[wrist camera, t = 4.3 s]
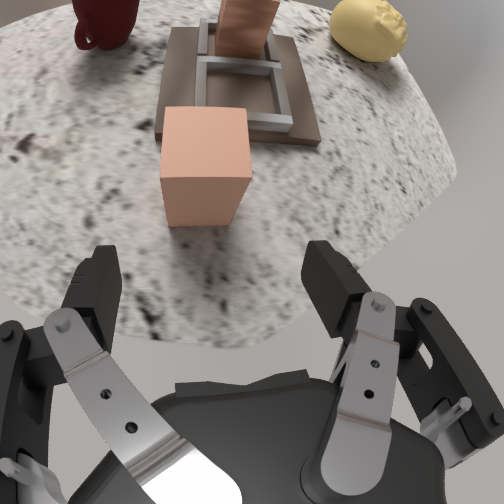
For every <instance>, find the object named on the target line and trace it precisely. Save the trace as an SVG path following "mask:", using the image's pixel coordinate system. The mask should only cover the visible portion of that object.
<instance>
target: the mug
mask: <svg viewBox="0 0 504 504" xmlns="http://www.w3.org/2000/svg"><path fill="white" fill-rule="evenodd" d="M139 1H140V0H72V3H73V8H74V12H75V14H76V16H77V19H78V23H77V25H76V29H75V36H74V38H75V43H76V46H77V47H78V48H79V49H81V50H90V49H93V48H94V47H96V46H97V47H98V48H100V49H102V50H109V49H114V48H117V47H119V46H121V45H122V44H124V43H125V42H126V40H127V39H128V37H129V35H130V33H131V31H132V29H133V27H134V25H135V22H136V17H137V12H138V6H139ZM86 37H87V38H88V39H89V40H90V41H91V42H90V43H87V39H86Z"/></svg>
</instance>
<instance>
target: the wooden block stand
mask: <svg viewBox="0 0 504 504" xmlns="http://www.w3.org/2000/svg"><path fill="white" fill-rule="evenodd" d="M279 4H280V0H222V2H221V7H220V11H219V16H218V19H200V25H199V27H172V29H171V33H170V38H169V43H168V48H167V53H166V58H165V63H164V69H163V75H162V81H161V87H160V94H159V101H158V108H157V116H156V124H155V140H162V138H163V127H164V117H165V107H178V106H198V107H230V108H246V114H247V125H248V136H249V141H261V142H275V143H287V144H297V145H307V146H316V147H317V145H318V144H319V143H320V142H321V137H320V133H319V128H318V124H317V120H316V116H315V112H314V108H313V104H312V100H311V96H310V93H309V89H308V85H307V82H306V78H305V75H304V71H303V68H302V64H301V61H300V58H299V54H298V51H297V48H296V45H295V42H294V39H293V38H292V37H287V36H281V35H275V34H273V31H272V27H271V25H272V22H273V20H274V17H275V15H276V12H277V9H278V7H279Z"/></svg>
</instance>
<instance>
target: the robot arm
mask: <svg viewBox="0 0 504 504" xmlns="http://www.w3.org/2000/svg"><path fill="white" fill-rule="evenodd" d="M301 280H302V283H303V285H304V287H305V289H306V291H307V293H308V295H309V297H310V299H311V301H312V302H313V304H314V306H315V308H316V310H317V312H318V314H319V316H320V318H321V320H322V322H323V323H324V326H325V328H326V329H327V331H328V333H329V335H330V337H331V338H337V337H342V338H343V342H342V344H341V346H340V350H339V353H338V356H337V359H336V362H335V365H334V368H333V371H332V374H331V377H330V380H329V382H328V381H325V380H321V379H315V378H309V375H308V373H307V370H306V369H304V370H298V371H292V372H286V373H279V374H275V375H273V376H270V377H267V378H265V379H262V380H259V381H257V382H254V383H251V384H248V385H233V384H224V383H216V382H210V381H206V382H189V383H175V390H176V392H175V393H172V394H168V395H166V396H164V397H161V398H159V399H158V400H156V401H154V402H153V403H151V404H149V403H148V402H147V400H146V399H145V398H144V397H143V396H142V395H141V393H140V392H139V391H138V390H137V389H136V387H135V386H134V385H133V384H132V383H131V381H130V380H129V379H128V378H127V376H126V375H125V374H124V373H123V371H122V370H121V369H120V368H119V366H118V365H117V364H116V362H115V361H114V360H113V358H112V357H111V356H110V354H111V349H112V342H113V336H114V329H115V323H116V318H117V312H118V307H119V302H120V296H121V291H122V278H121V273H120V267H119V262H118V257H117V251H116V247H115V245H99V246H96V248H95V250H94V253H93V255H92V258H85V259H84V260H83V261H82V262H81V263H80V264H79V265H78V266H77V269H76V271H75V273H74V277H73V278H72V280H71V284H70V285H69V288H68V290H67V293H66V295H65V298H64V300H63V303H62V306H61V308H60V309H58V310H55V311H54V312H52V313H51V314H50V315H49V316H48V317H47V318H46V320H45V322H44V325H43V326H41V327H37V328H33V329H29V330H24V328H23V327H22V325H21V324H20V323H19V322H18V321H14V320H10V321H7V322H4V323H2V324H1V325H0V504H447V503H446V497H445V482H444V480H445V470H446V469H450V468H453V467H455V466H456V465H458V464H459V463H462V462H463V461H465V460H467V459H468V458H470V457H471V456H473V455H474V454H476V453H477V452H479V451H480V450H482V449H484V448H485V447H486V446H488V445H489V444H491V443H492V442H494V441H495V440H496V439H498V438H499V437H500V436H502V435H503V434H504V409H503V407H502V405H501V403H500V401H499V399H498V398H497V396H496V394H495V392H494V391H493V389H492V387H491V386H490V384H489V382H488V381H487V379H486V377H485V376H484V374H483V372H482V371H481V369H480V368H479V366H478V365H477V363H476V361H475V360H474V359H473V357H472V355H471V354H470V352H469V351H468V349H467V348H466V346H465V345H464V343H463V342H462V341H461V339H460V338H459V336H458V335H457V334H456V332H455V331H454V329H453V328H452V326H450V324H449V322H448V321H447V320H446V318H445V317H444V316H443V314H442V313H441V312H440V310H439V309H438V308H437V306H436V305H435V304H433V303H432V302H431V301H429V300H427V299H424V298H416V299H414V300H413V301H412V303H411V305H410V307H401V306H395V304H394V302H393V301H392V300H391V299H390V298H389V297H388V296H386V295H385V294H382V293H380V292H374V291H372V290H371V289H370V288H369V286H368V285H367V284H366V282H365V281H364V280H363V278H362V277H361V276H360V274H359V273H357V270H356V269H355V268H354V267H352V264H351V263H350V261H349V260H348V259H347V258H346V257H345V256H343V255H342V254H341V253H339V252H338V251H335V250H334V249H333V247H332V246H331V245H330V243H329V242H328V241H326V240H320V241H309V243H308V245H307V249H306V253H305V257H304V261H303V265H302V270H301ZM423 343H424V344H425V346H426V348H427V349H428V351H429V352H430V354H431V356H432V359H433V365H432V367H431V369H429V367H428V366H427V364H426V362H425V361H424V359H423V357H422V356H421V354H420V352H419V351H418V350H419V348H420V347H421V345H422V344H423ZM397 376H398V379H399V381H400V383H401V385H402V387H403V388H404V391H405V393H406V394H407V397H408V399H409V401H410V403H411V405H412V407H413V409H414V411H415V413H416V415H417V417H418V419H419V422H420V424H421V425H420V434H418V433H417V432H415V431H413V430H412V429H410V428H408V427H406V426H404V425H403V424H401V423H399V422H397V421H396V420H394V419H392V418H391V411H392V405H393V399H394V392H395V384H396V377H397ZM67 382H68V384H69V386H70V388H71V389H72V391H73V393H74V395H75V396H76V398H77V400H78V401H79V403H80V405H81V406H82V408H83V409H84V411H85V413H86V414H87V416H88V417H89V419H90V420H91V422H92V423H93V425H94V426H95V428H96V429H97V431H98V432H99V433H100V435H101V436H102V438H103V439H104V440H105V442H106V443H107V444H108V446H109V447H110V448H111V450H110V451H109V452H108V453H107V455H106V456H105V457H104V458H103V459H102V461H101V462H100V463H99V464H98V465H97V467H96V468H95V469H94V470H93V471H92V473H91V474H90V475H89V476H88V477H87V478H86V480H85V481H84V482H83V483H82V484H81V486H80V487H79V488H78V489H77V490H76V491H75V493H74V494H73V495H72V496H71V498H70V499H69V501H68V502H67V501H66V500H65V498H64V497H63V495H62V492H61V488H60V484H59V481H58V479H57V477H56V475H55V474H54V473H53V472H52V471H51V470H49V469H48V440H49V423H50V412H51V403H52V395H53V387H54V385H59V384H63V383H67Z"/></svg>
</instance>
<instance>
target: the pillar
mask: <svg viewBox="0 0 504 504" xmlns="http://www.w3.org/2000/svg"><path fill="white" fill-rule="evenodd" d="M251 179H252V169H251V158H250V147H249V136H248V125H247V114H246V108H230V107H198V106H178V107H165V117H164V127H163V138H162V150H161V165H160V182H161V188H162V194H163V200H164V205H165V211H166V216H167V221H168V227H178V226H222V225H229V224H230V221H231V219H232V217H233V215H234V213H235V211H236V209H237V207H238V205H239V203H240V201H241V199H242V197H243V195H244V193H245V191H246V189H247V187H248V185H249V183H250V181H251Z"/></svg>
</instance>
